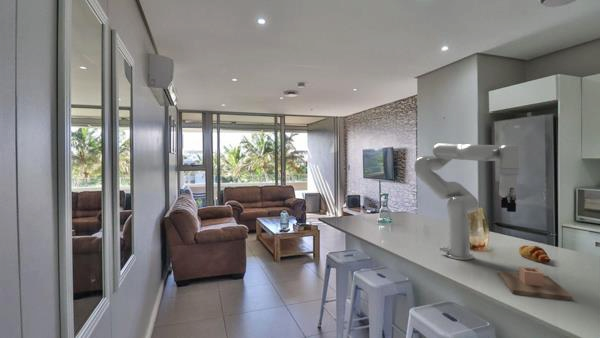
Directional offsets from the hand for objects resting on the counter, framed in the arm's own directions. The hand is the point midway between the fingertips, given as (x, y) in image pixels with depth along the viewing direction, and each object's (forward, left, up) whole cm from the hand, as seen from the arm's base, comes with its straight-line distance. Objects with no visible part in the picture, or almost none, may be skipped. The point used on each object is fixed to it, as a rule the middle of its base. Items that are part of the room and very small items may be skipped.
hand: (508, 209), depth 135 cm
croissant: (+17, +23, -28) cm, 40 cm away
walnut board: (+3, -18, -28) cm, 33 cm away
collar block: (+3, -17, -26) cm, 32 cm away
